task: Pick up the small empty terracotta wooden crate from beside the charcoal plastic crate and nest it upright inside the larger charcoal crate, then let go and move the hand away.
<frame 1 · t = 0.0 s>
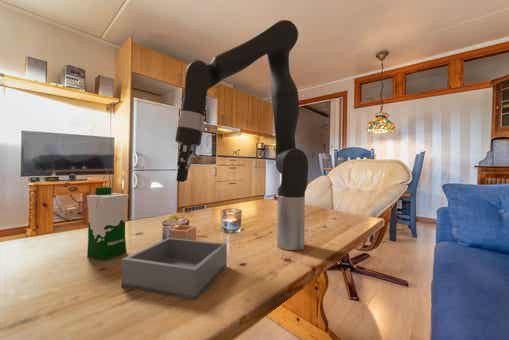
hand: (181, 180, 66), 22 cm above the table, tool pointing down, fingers open, 8 cm apart
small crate: (182, 249, 69), on the table
big crate: (179, 275, 52), on the table
lemon: (173, 236, 84), on the table
milk carton: (107, 255, 65), on the table
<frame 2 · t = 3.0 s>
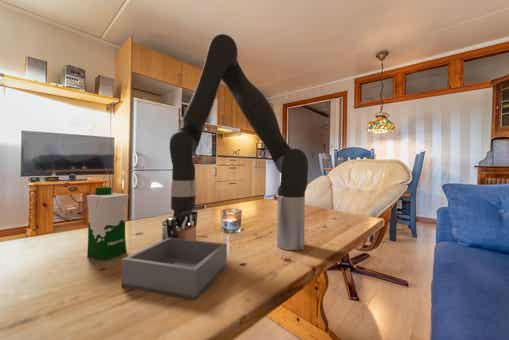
hand: (182, 246, 69), 1 cm above the table, tool pointing down, fingers closed on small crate, 6 cm apart
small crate: (182, 249, 69), on the table, touching gripper
everything else where it was.
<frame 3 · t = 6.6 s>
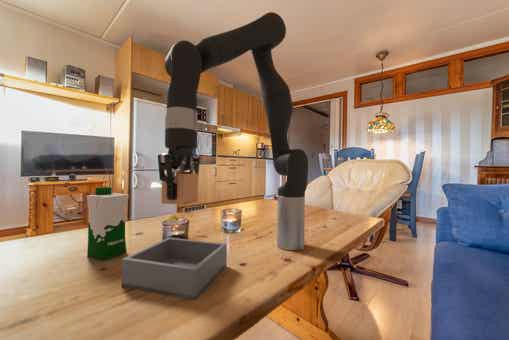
hand: (180, 197, 53), 19 cm above the table, tool pointing down, fingers closed on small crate, 6 cm apart
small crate: (180, 202, 53), point 18 cm above the table, touching gripper
everything else where it was.
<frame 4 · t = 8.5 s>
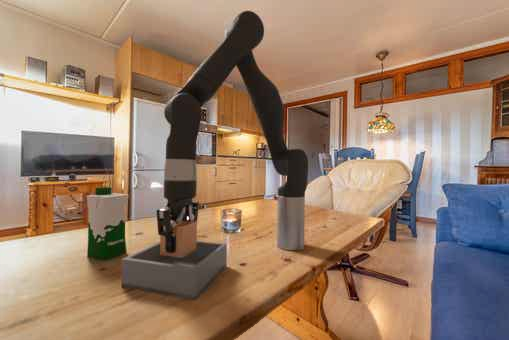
hand: (179, 247, 52), 7 cm above the table, tool pointing down, fingers closed on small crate, 6 cm apart
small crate: (178, 251, 52), point 6 cm above the table, touching gripper
everything else where it was.
when the fingers open (4 cm above the table, at t = 10.2 s): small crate drops 2 cm, resting on big crate.
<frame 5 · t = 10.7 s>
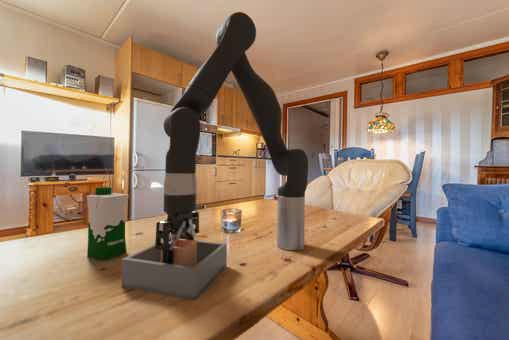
hand: (179, 258, 52), 4 cm above the table, tool pointing down, fingers open, 8 cm apart
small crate: (179, 272, 52), point 1 cm above the table, touching big crate
everything else where it was.
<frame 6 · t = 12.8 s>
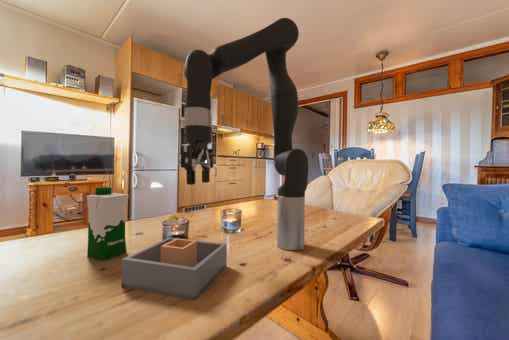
hand: (198, 183, 61), 22 cm above the table, tool pointing down, fingers open, 8 cm apart
nothing on the table moved.
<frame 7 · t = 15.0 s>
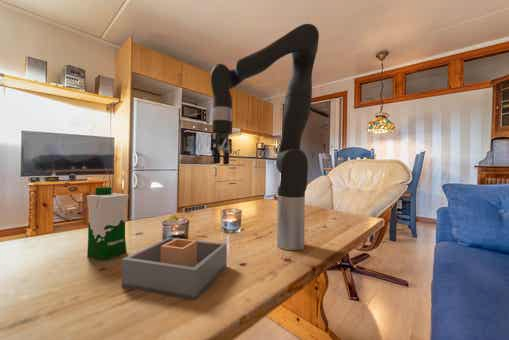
hand: (221, 164, 81), 28 cm above the table, tool pointing down, fingers open, 8 cm apart
nothing on the table moved.
at the end: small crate inside the target area on the big crate (0.0 cm from its centre), point 0.8 cm above the big crate's base; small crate tilted 0°; the gripper is holding nothing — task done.
